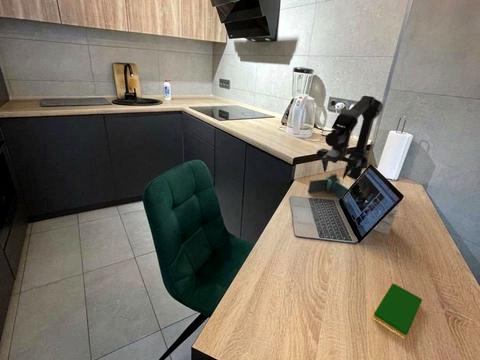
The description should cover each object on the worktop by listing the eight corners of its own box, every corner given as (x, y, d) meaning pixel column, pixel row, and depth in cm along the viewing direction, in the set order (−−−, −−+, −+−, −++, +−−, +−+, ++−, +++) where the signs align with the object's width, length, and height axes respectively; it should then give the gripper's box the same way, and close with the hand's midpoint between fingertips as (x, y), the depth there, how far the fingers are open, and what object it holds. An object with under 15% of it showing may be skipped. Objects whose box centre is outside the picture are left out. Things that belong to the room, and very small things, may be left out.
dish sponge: (371, 319, 63) (374, 312, 62) (390, 288, 72) (392, 282, 71) (403, 341, 58) (407, 334, 57) (419, 305, 68) (422, 298, 66)
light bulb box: (390, 226, 99) (399, 202, 94) (388, 235, 94) (398, 210, 89) (360, 217, 104) (367, 193, 99) (357, 225, 99) (365, 200, 94)
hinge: (321, 183, 130) (323, 172, 127) (354, 196, 120) (358, 184, 117) (307, 192, 121) (309, 180, 118) (342, 206, 110) (345, 194, 108)
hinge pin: (328, 188, 126) (332, 173, 122) (334, 190, 124) (338, 175, 121) (326, 190, 124) (329, 174, 120) (331, 192, 122) (335, 176, 119)
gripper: (313, 140, 114) (307, 172, 121) (355, 151, 103) (346, 187, 109) (325, 136, 121) (318, 167, 128) (365, 146, 110) (356, 179, 117)
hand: (333, 174), depth 120 cm, fingers open, 9 cm apart
